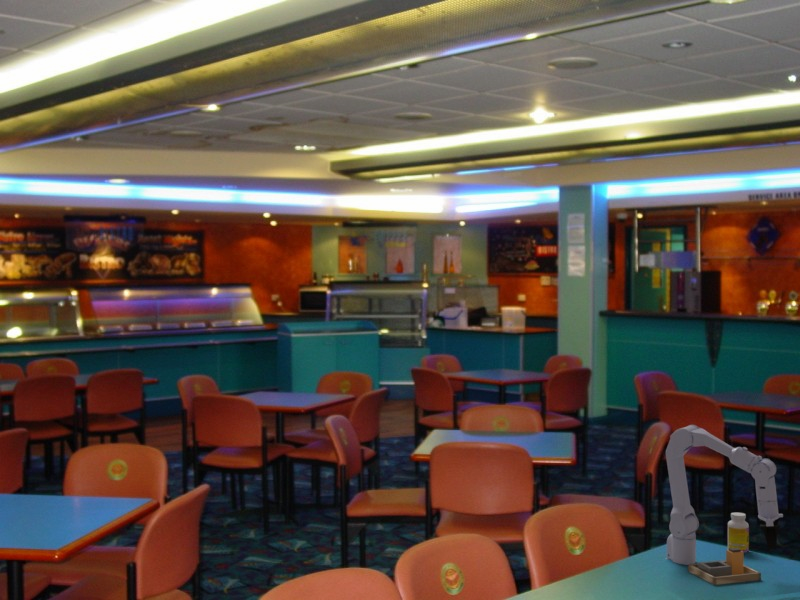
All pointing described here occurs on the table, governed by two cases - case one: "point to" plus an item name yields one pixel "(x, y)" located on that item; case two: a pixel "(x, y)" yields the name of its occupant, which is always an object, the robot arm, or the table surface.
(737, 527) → the supplement bottle
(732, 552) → the plug
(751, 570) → the walled box
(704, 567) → the inlet socket
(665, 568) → the table surface
